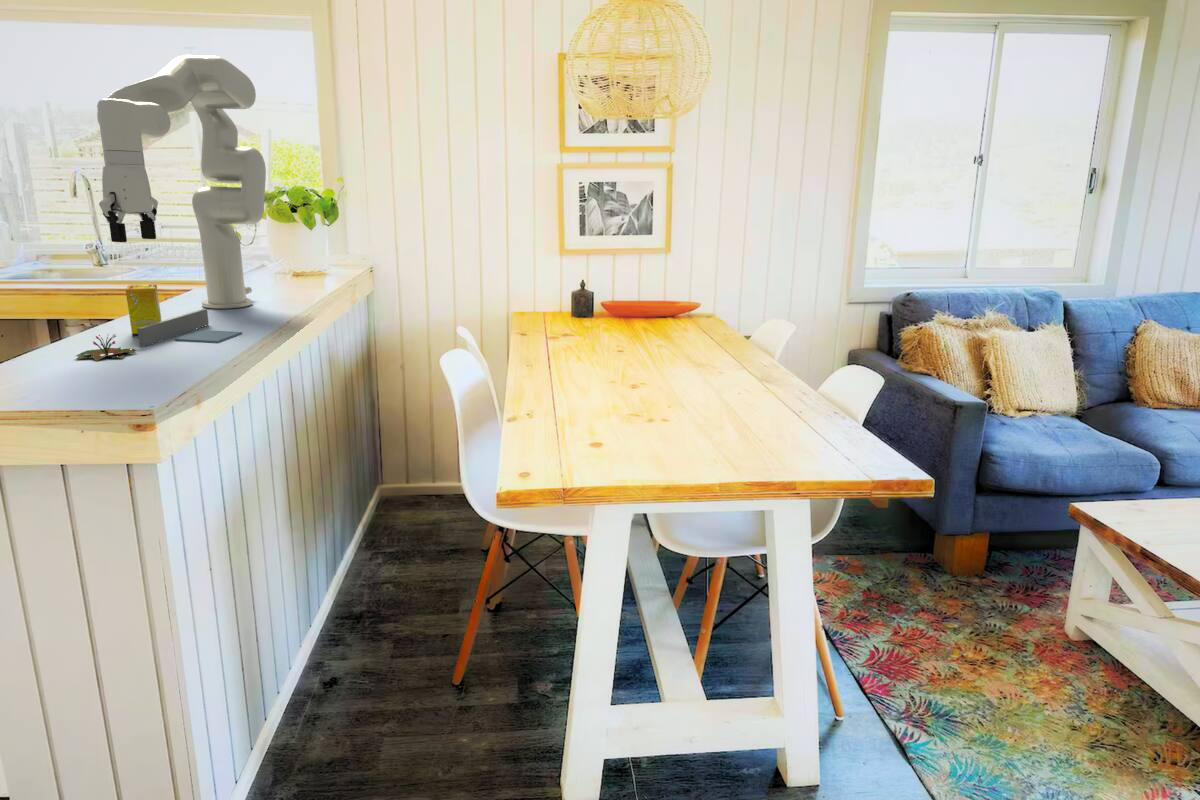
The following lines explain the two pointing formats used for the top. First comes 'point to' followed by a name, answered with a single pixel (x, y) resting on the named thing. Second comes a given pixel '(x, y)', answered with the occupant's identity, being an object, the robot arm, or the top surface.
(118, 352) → the lily flower
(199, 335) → the rubber mat
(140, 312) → the supplement box
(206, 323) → the low wall
